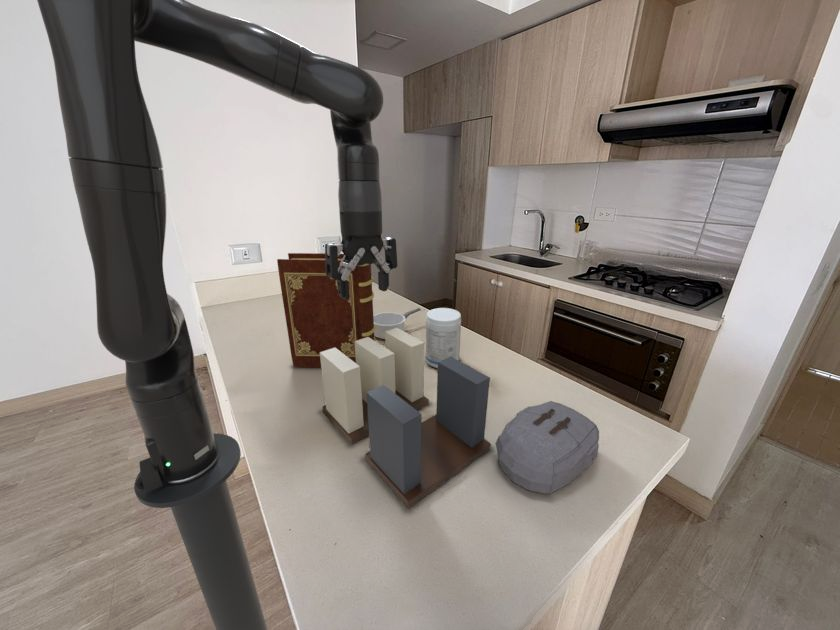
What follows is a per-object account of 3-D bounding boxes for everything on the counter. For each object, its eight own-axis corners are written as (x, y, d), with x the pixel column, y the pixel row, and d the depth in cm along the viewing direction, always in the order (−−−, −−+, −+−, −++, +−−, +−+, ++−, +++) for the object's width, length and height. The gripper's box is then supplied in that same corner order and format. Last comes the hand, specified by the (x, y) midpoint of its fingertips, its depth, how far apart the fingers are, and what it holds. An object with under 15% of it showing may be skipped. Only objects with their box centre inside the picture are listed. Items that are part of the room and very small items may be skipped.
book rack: (408, 508, 54) (408, 501, 53) (322, 411, 76) (321, 406, 75) (490, 449, 66) (491, 443, 65) (395, 380, 88) (395, 375, 87)
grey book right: (471, 447, 64) (477, 384, 59) (435, 420, 71) (437, 361, 66) (484, 439, 66) (490, 377, 61) (448, 413, 73) (450, 356, 68)
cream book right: (412, 402, 77) (411, 347, 71) (386, 383, 84) (384, 331, 78) (423, 396, 79) (424, 342, 73) (398, 378, 86) (397, 327, 81)
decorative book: (378, 355, 100) (374, 253, 89) (374, 369, 93) (369, 260, 81) (302, 353, 100) (288, 252, 89) (292, 367, 93) (276, 259, 82)
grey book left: (404, 494, 54) (403, 423, 49) (370, 457, 61) (366, 392, 56) (420, 483, 56) (421, 413, 51) (386, 448, 63) (384, 384, 58)
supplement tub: (433, 350, 103) (435, 305, 97) (463, 357, 99) (466, 310, 93) (419, 365, 95) (420, 316, 89) (451, 373, 91) (453, 323, 85)
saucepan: (430, 327, 119) (431, 312, 117) (385, 344, 106) (384, 328, 104) (409, 318, 127) (409, 304, 124) (364, 333, 114) (363, 317, 112)
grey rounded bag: (537, 416, 75) (476, 460, 63) (543, 383, 72) (479, 423, 60) (608, 456, 64) (550, 519, 52) (618, 420, 61) (558, 478, 49)
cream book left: (348, 433, 67) (343, 372, 62) (326, 409, 74) (319, 352, 69) (363, 426, 69) (359, 366, 64) (340, 402, 76) (335, 347, 71)
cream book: (382, 417, 72) (380, 358, 67) (358, 395, 79) (354, 341, 74) (395, 410, 74) (394, 353, 69) (371, 389, 81) (368, 336, 76)
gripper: (382, 205, 68) (384, 283, 74) (313, 208, 59) (322, 296, 65) (405, 208, 62) (405, 292, 68) (333, 211, 54) (340, 307, 60)
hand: (364, 294), depth 67 cm, fingers open, 8 cm apart
